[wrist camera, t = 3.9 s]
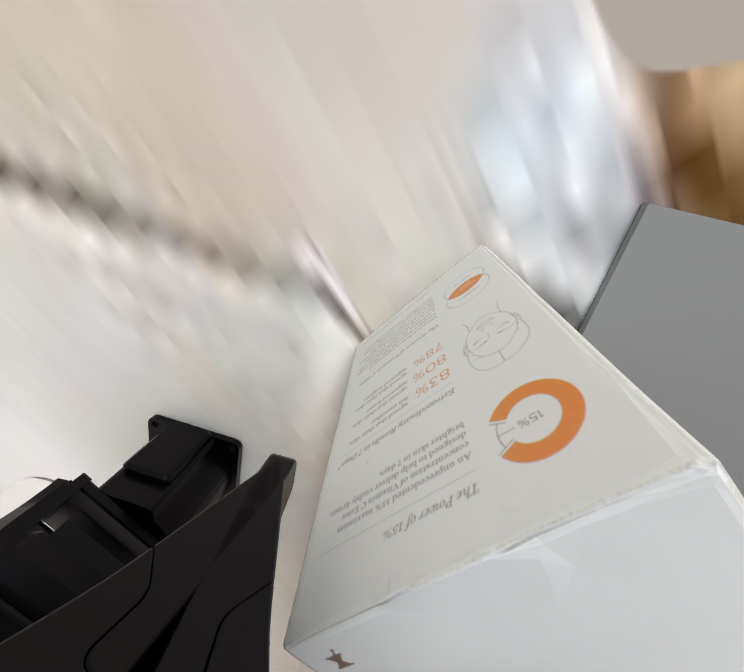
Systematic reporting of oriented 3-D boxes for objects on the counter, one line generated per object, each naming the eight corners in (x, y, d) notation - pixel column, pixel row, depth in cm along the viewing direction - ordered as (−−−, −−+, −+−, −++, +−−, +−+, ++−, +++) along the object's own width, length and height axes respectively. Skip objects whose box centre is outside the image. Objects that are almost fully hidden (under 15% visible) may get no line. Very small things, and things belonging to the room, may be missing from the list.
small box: (430, 420, 20) (468, 772, 8) (353, 345, 18) (268, 654, 7) (560, 337, 17) (884, 690, 6) (483, 239, 16) (723, 455, 4)
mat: (714, 517, 19) (720, 524, 19) (514, 457, 20) (516, 463, 20) (931, 270, 14) (947, 273, 13) (642, 203, 15) (649, 203, 14)
